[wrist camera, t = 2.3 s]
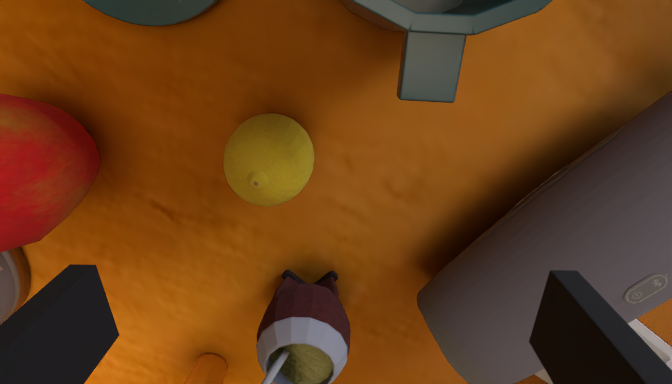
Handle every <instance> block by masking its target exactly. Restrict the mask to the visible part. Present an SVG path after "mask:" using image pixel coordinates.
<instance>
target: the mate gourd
mask: <svg viewBox="0 0 672 384" xmlns="http://www.w3.org/2000/svg"><path fill="white" fill-rule="evenodd" d="M282 278H283V279H284V281H283V282H282V283H281V284H280V286H279V287H278V288H277V290H276V292H275V294H274V296H273V299H272V301H271V302H270V304H269V305H268V307H267V309H266V312H265V314H264V316H263V319H262V321H261V323H260V326H259V329H258V333H257V345H256V347H257V356H258V361H259V364H260V366H261V368H262V370H263V371H264V373H265V374H266V377H265V378H264V380H263V382H262V383H261V384H271V383H273V384H331V383H332V382H333V381H334V380H335V379H336V378H337V377H338V375H339V374H340V372H341V370H342V369H343V367H344V366H345V364H346V362H347V357H348V354H349V348H350V324H349V320H348V318H347V315H346V313H345V310H344V308H343V306H342V304H341V302H340V300H339V299H338V291H337V288H336V285H335V281H336V280H337V279H338V277H337V274H336V273H335V272H334V271H331V272H329V273H328V274H326V275H325V276H324V277H323V278H321V279H320V280H319V281H317V282H316V283H315V284H306V283H305V282H304V281H302V280H301V279H300V278H299V277H298V276H296V275H295V274H294V273H293V272H291V271H290V270H286V271H285V272H284V273H283V275H282Z"/></svg>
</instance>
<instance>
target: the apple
mask: <svg viewBox="0 0 672 384" xmlns="http://www.w3.org/2000/svg"><path fill="white" fill-rule="evenodd" d="M100 160H101V157H100V155H99V152H98V149H97V147H96V144H95V141H94V140H93V139H92V137H91V136H90V135H89V134H88V132H87V131H86V130H85V129H84V127H83V126H82V125H81V124H80V123H79V122H78V121H76V120H75V119H74V118H73V117H72V116H70V115H69V114H68V113H67V112H66V111H64V110H61V109H59V108H57V107H55V106H52V105H50V104H48V103H45V102H40V101H35V100H30V99H25V98H20V97H15V96H10V95H4V94H0V253H1V252H4V251H7V250H11V249H14V248H17V247H20V246H23V245H27V244H30V243H33V242H36V241H40V240H41V239H42V238H43V237H44V236H46V235H47V234H48V233H49V232H50V231H51V230H53V229H54V228H55V227H56V226H57V225H58V224H59V223H61V222H62V221H63V220H64V219H65V218H66V217H67V216H69V215H70V214H71V212H72V211H73V210H74V209H75V208H76V207H77V206H78V204H79V203H80V202H81V201H82V200H83V198H84V197H85V195H86V193H87V191H88V190H89V188H90V186H91V185H92V183H93V181H94V180H95V178H96V176H97V175H98V171H99V165H100Z"/></svg>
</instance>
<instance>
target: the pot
mask: <svg viewBox="0 0 672 384" xmlns="http://www.w3.org/2000/svg"><path fill="white" fill-rule="evenodd" d="M341 1H342V2H343V4H344V5H345V6H346V7H347V9H348V10H349V11H350V12H352V13H354V14H356V15H358V16H359V17H361V18H363V19H365V20H366V21H369V22H371V23H373V24H375V25H376V26H378V27H380V28H382V29H385V30H392V31H403V32H404V36H403V44H402V53H401V62H400V70H399V79H398V87H397V97H398V98H399V99H400V100H410V101H428V102H446V103H453V102H454V101H455V95H456V90H457V84H458V79H459V74H460V68H461V63H462V57H463V52H464V46H465V41H466V35H476V34H479V33H481V32H484V31H487V30H490V29H492V28H495V27H498V26H501V25H503V24H506V23H509V22H512V21H514V20H517V19H520V18H523V17H525V16H528V15H531V14H534V13H536V12H538V11H539V10H542V9H543V8H544V7H545V6H546V5H548V4H549V3H550V2H551V1H552V0H341Z"/></svg>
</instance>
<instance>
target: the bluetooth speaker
mask: <svg viewBox="0 0 672 384" xmlns="http://www.w3.org/2000/svg"><path fill="white" fill-rule="evenodd" d="M550 270H574V271H578V272H579V273H580V274H581V275H582V276H583V277H584V278H585V279H586V280H587V281H588V282H589V283H590V284H591V286H592V287H593V288H594V289H595V290H596V291H597V292H598V293H599V294H600V295H601V296H602V297H603V298H604V299H605V300H606V301H607V302H608V303H609V304H610V306H611V307H612V308H613V309H614V310H615V311H616V312H617V313H618V314H619V315H620V316H621V317H622V318H623V319H624V320H625V321H626V322H627V323H630V322H631V321H633V320H635V319H637V318H638V317H640V316H642V315H643V314H645V313H647V312H648V311H650V310H652V309H654V308H655V307H657V306H659V305H660V304H662V303H664V302H666V301H667V300H669V299H671V298H672V91H671V92H669V93H668V94H666V95H665V96H663V97H662V98H660V99H659V100H658V101H656V102H655V103H653V104H652V105H651V106H649V107H648V108H647V109H645V110H644V111H642V112H641V113H640V114H638V115H637V116H636V117H634V118H633V119H631V120H630V121H629V122H627V123H626V124H625V125H623V126H622V127H620V128H618V129H616V130H615V131H614V132H612V133H611V134H610V135H608V136H607V137H606V138H604V139H603V140H602V141H600V142H599V143H598V144H596V145H595V146H594V147H592V148H591V149H590V150H588V151H587V152H586V153H584V154H583V155H582V156H580V157H579V158H578V159H576V160H575V161H574V162H572V163H570V164H569V165H567V166H565V167H564V168H563V169H561V170H560V171H558V172H556V173H555V174H554V175H552V176H551V177H550V178H549V179H547V180H546V181H545V182H544V183H542V184H541V185H540V186H538V187H537V188H536V189H535V190H533V191H532V192H531V193H529V194H528V195H527V196H526V197H525V198H523V199H522V200H521V201H520V202H518V203H517V204H516V205H515V206H514V207H513V208H512V209H511V210H510V211H509V212H508V213H507V214H506V215H505V216H504V217H502V218H501V219H500V220H499V221H497V222H496V223H495V224H494V225H493V226H491V227H490V228H489V229H488V230H487V231H485V232H484V233H483V234H482V235H481V236H479V237H478V238H477V239H476V240H475V241H473V242H472V243H471V245H470V246H468V247H467V248H466V249H465V250H464V251H462V252H461V253H460V254H459V255H458V256H457V257H455V258H454V259H453V260H452V261H451V262H450V263H448V264H447V265H446V266H445V267H444V268H443V269H442V270H441V271H439V272H438V273H437V274H436V275H435V276H434V277H433V278H432V279H431V280H430V281H429V282H428V283H427V284H426V285H425V286H424V288H423V289H422V290H421V291H420V292H419V293H418V295H417V304H418V307H419V309H420V311H421V313H422V315H423V317H424V319H425V321H426V323H427V325H428V327H429V329H430V331H431V333H432V334H433V336H434V338H435V339H436V341H437V343H438V344H439V346H440V348H441V350H442V352H443V353H444V355H445V357H446V359H447V360H448V362H449V363H450V364H451V366H452V367H453V368H454V369H455V370H456V371H457V372H458V373H459V375H460V376H461V377H463V378H464V379H465V380H466V381H467V382H468V383H469V384H514V383H517V382H519V381H521V380H523V379H525V378H527V377H529V376H531V375H533V374H535V373H537V372H539V371H541V370H543V369H544V367H543V365H542V363H541V362H540V360H539V358H538V357H537V355H536V353H535V351H534V350H533V348H532V346H531V345H530V343H529V340H530V336H531V333H532V330H533V326H534V323H535V319H536V316H537V313H538V309H539V306H540V302H541V299H542V296H543V292H544V289H545V285H546V282H547V279H548V275H549V272H550Z"/></svg>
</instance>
